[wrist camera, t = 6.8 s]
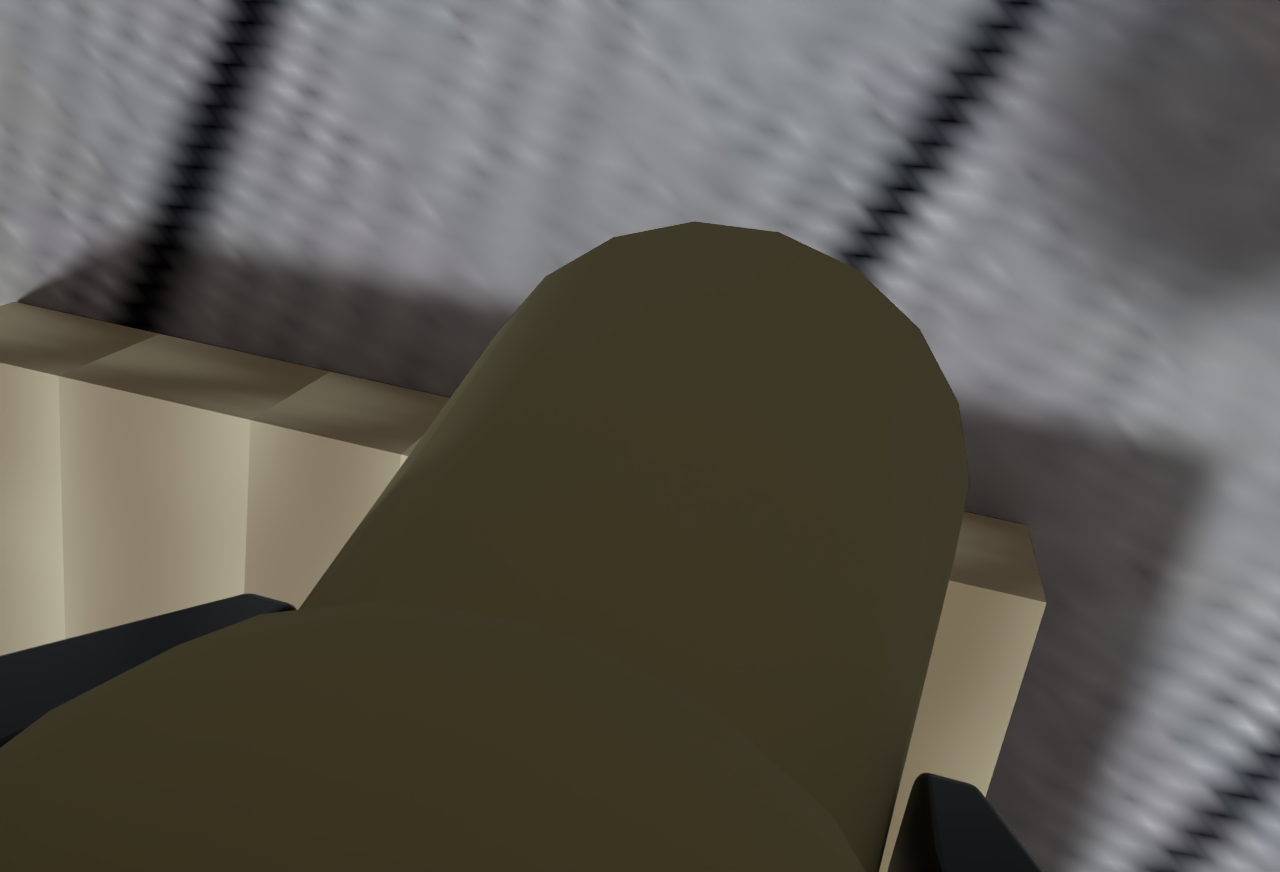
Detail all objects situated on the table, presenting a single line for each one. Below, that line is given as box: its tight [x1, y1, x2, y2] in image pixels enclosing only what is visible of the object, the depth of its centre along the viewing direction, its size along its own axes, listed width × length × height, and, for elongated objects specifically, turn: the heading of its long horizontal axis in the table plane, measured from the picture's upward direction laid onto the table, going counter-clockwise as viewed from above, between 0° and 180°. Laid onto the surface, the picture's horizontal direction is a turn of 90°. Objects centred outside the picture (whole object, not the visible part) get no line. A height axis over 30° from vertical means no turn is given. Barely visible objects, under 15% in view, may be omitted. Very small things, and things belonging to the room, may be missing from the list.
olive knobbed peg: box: [0, 222, 970, 872], centre depth 9 cm, size 6×6×11 cm
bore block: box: [0, 302, 1047, 872], centre depth 24 cm, size 20×16×3 cm
